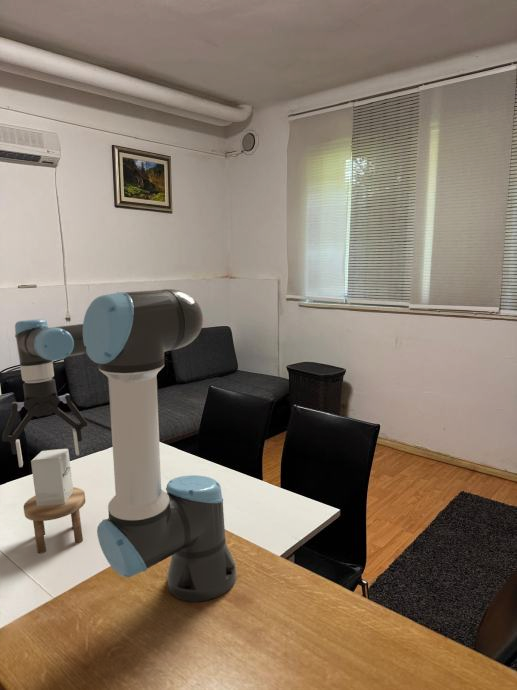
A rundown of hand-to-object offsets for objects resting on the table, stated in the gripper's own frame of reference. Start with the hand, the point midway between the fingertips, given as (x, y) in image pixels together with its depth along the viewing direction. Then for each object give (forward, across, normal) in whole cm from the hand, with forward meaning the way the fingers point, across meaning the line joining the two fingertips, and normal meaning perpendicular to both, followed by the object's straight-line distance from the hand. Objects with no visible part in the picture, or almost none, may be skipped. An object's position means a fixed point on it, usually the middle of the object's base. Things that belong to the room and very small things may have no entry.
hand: (49, 459), depth 125 cm
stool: (+22, 0, -1) cm, 22 cm away
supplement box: (+11, 0, 0) cm, 11 cm away
